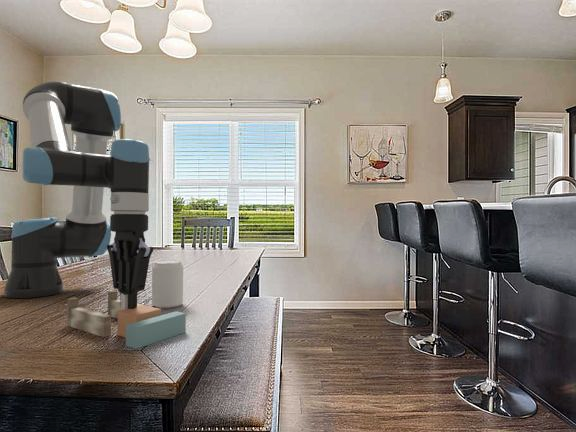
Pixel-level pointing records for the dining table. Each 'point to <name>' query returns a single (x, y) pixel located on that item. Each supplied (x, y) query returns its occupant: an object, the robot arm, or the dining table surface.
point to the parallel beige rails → (93, 316)
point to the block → (135, 317)
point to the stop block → (155, 329)
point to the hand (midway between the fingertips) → (128, 323)
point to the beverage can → (167, 284)
